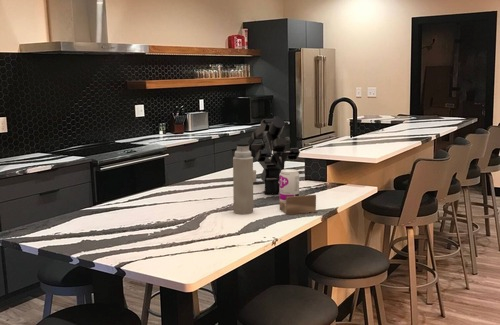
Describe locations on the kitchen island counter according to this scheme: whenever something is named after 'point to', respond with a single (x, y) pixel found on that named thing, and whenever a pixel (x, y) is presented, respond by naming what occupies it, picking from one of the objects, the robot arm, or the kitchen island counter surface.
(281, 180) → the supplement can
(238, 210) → the thermos bottle
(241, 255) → the kitchen island counter surface
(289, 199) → the walnut dock
